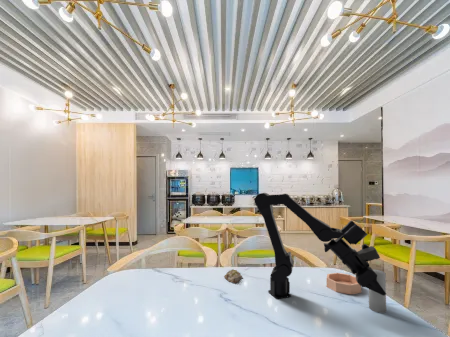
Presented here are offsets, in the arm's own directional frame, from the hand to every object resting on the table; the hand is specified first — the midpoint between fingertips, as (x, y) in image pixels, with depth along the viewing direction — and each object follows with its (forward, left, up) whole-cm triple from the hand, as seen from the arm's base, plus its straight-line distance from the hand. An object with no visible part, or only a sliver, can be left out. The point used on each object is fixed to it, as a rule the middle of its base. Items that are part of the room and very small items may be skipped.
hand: (381, 289), depth 85 cm
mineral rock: (-38, +41, -7) cm, 57 cm away
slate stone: (-1, +1, -7) cm, 7 cm away
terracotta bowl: (+2, +19, -7) cm, 20 cm away
